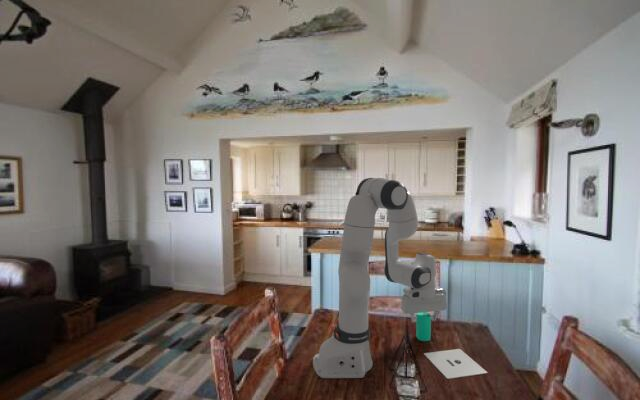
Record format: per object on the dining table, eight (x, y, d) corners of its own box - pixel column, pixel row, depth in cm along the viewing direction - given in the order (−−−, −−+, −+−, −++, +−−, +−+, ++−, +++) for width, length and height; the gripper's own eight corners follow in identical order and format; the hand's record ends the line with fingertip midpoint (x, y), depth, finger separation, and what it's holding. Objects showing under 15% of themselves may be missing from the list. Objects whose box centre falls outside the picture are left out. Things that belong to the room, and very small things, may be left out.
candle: (431, 341, 134) (432, 314, 134) (417, 340, 135) (417, 313, 135) (429, 334, 140) (429, 308, 139) (415, 333, 141) (415, 307, 140)
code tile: (447, 379, 109) (447, 378, 109) (423, 354, 125) (423, 353, 125) (487, 373, 113) (487, 372, 112) (459, 349, 128) (459, 348, 128)
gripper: (442, 285, 142) (441, 315, 143) (399, 289, 138) (399, 319, 139) (450, 290, 136) (449, 322, 137) (406, 294, 132) (405, 326, 133)
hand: (423, 320), depth 138 cm, fingers open, 8 cm apart
